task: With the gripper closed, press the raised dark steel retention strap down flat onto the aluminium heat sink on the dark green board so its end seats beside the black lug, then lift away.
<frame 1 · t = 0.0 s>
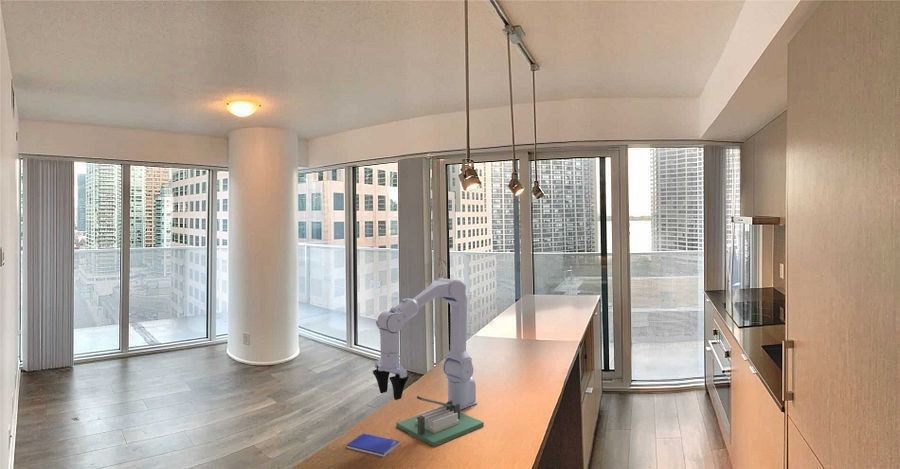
hand: (390, 395, 145), 10 cm above the countertop, fingers open, 7 cm apart
hard drive: (373, 448, 134), on the countertop
heatsink board: (439, 426, 147), on the countertop
retention strap: (437, 402, 146), point 8 cm above the countertop, hinge at 24.0°
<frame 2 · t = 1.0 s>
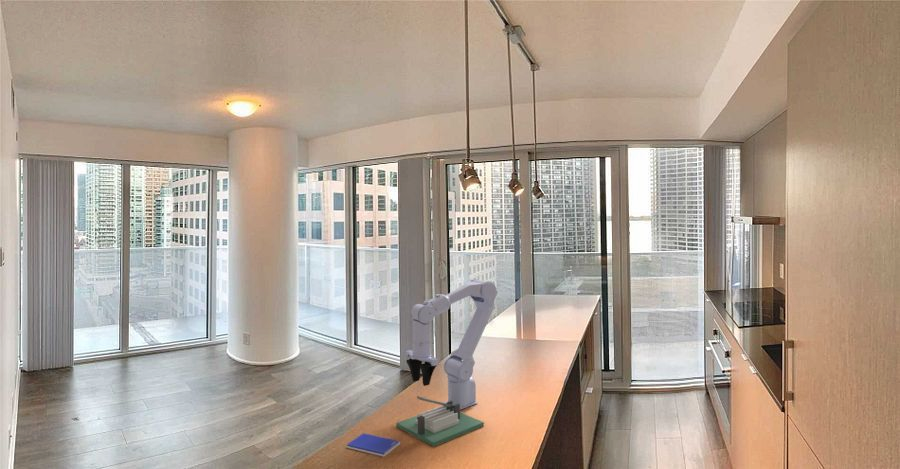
hand: (421, 382, 156), 10 cm above the countertop, fingers open, 5 cm apart
nothing on the countertop moved.
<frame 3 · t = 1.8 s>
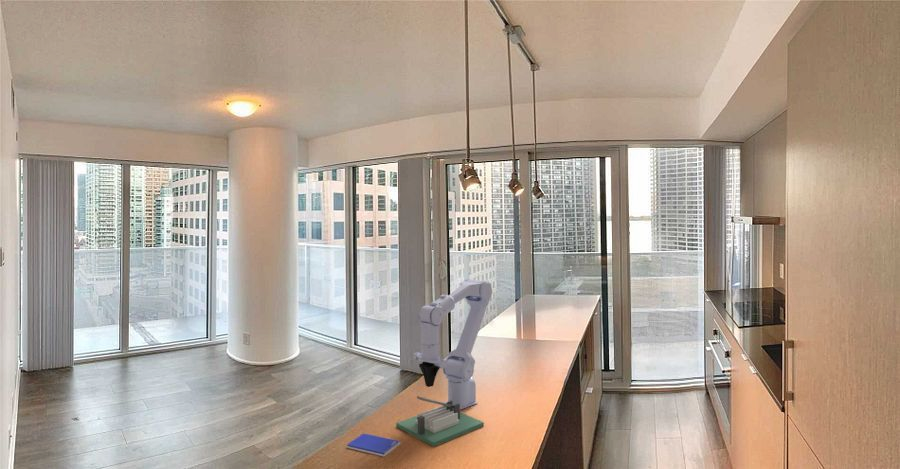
hand: (429, 385, 153), 10 cm above the countertop, fingers closed
nothing on the countertop moved.
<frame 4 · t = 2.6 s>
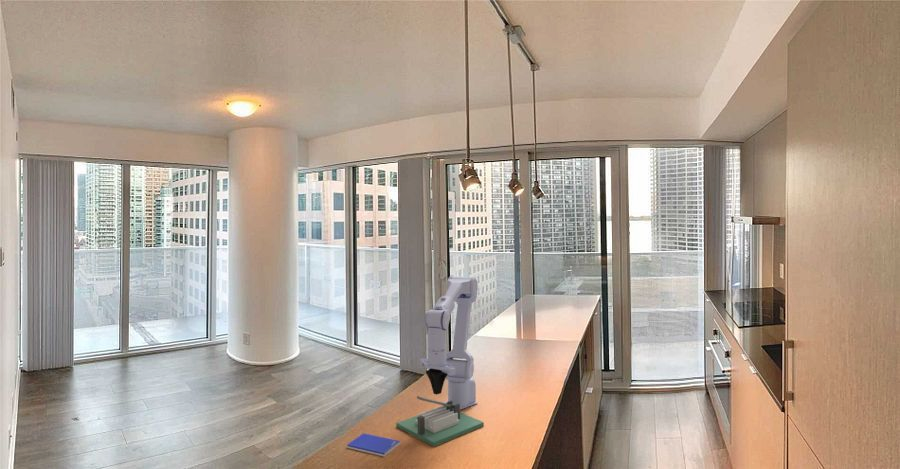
hand: (437, 393, 146), 10 cm above the countertop, fingers closed
nothing on the countertop moved.
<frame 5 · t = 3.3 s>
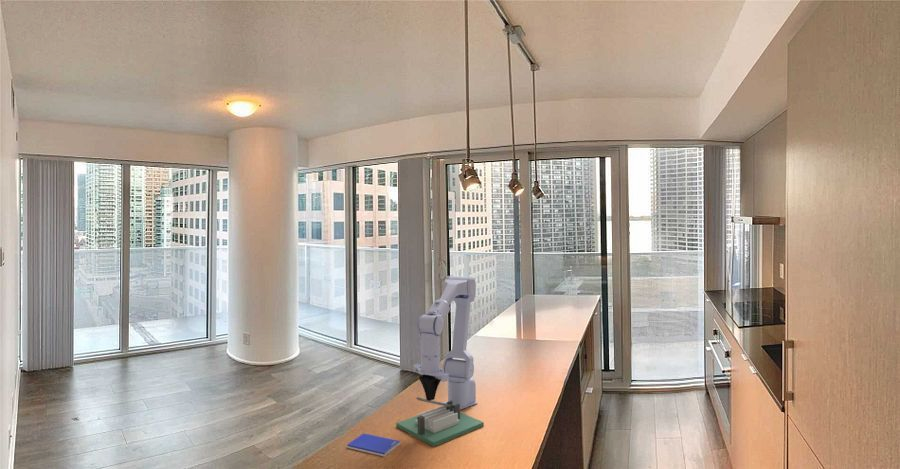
hand: (430, 399, 144), 9 cm above the countertop, fingers closed, pressing on retention strap
retention strap: (437, 402, 146), point 8 cm above the countertop, hinge at 23.0°, touching gripper
everything else where it was.
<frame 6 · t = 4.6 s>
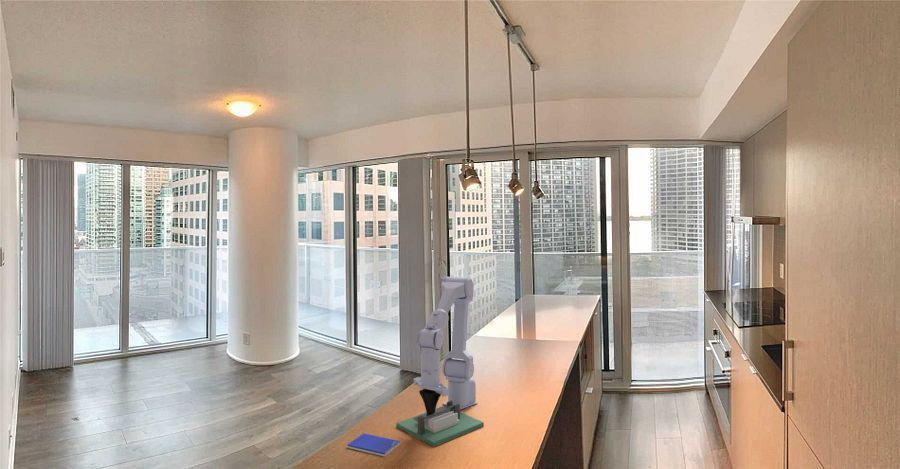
hand: (430, 413, 144), 5 cm above the countertop, fingers closed, pressing on retention strap
retention strap: (435, 412, 146), point 5 cm above the countertop, hinge at -0.2°, touching gripper
everything else where it was.
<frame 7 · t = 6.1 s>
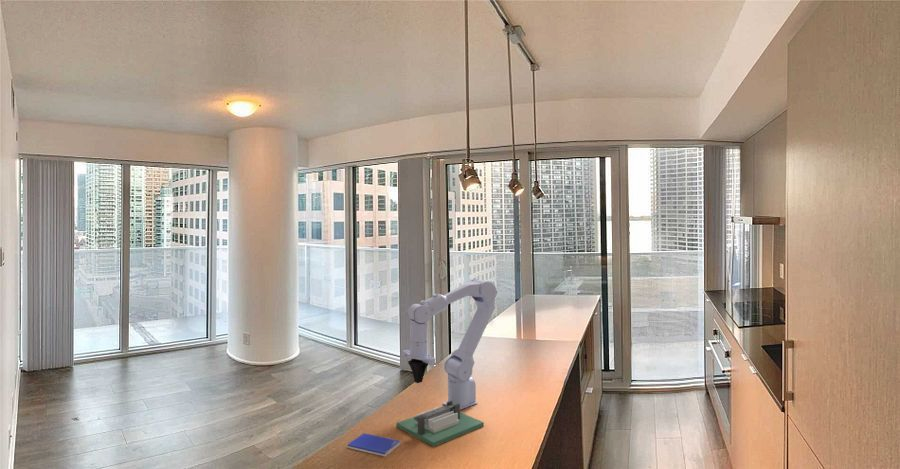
hand: (418, 382, 157), 10 cm above the countertop, fingers closed
retention strap: (435, 412, 146), point 5 cm above the countertop, hinge at -0.2°
everything else where it was.
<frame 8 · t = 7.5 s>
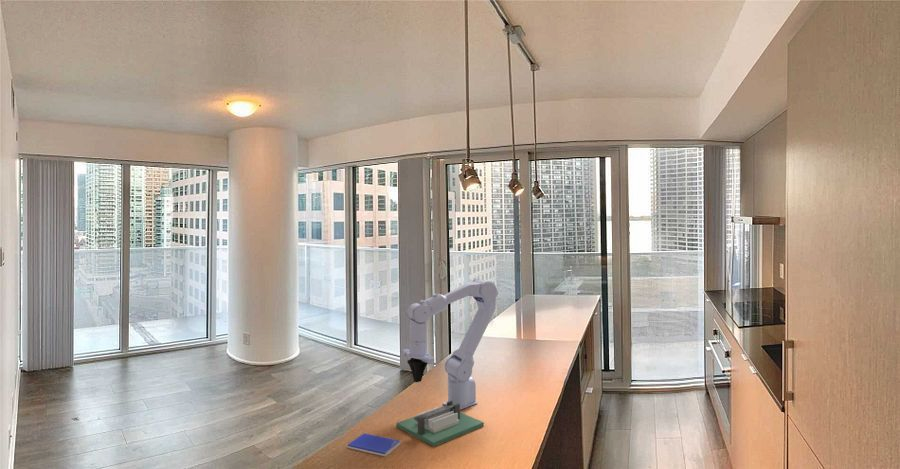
hand: (417, 381, 157), 10 cm above the countertop, fingers closed
nothing on the countertop moved.
at the end: retention strap at +0° (first picture: +24°) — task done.
